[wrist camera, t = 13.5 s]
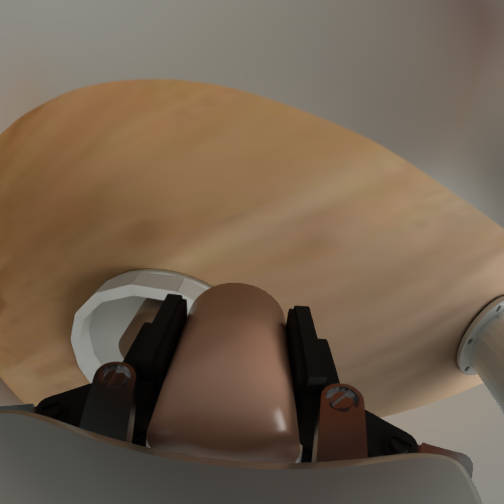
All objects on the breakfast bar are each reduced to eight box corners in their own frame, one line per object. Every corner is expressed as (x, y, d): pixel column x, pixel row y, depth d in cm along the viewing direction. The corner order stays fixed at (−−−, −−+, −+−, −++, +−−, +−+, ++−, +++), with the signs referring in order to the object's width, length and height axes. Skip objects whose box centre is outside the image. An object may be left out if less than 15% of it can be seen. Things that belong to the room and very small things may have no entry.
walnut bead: (182, 297, 26) (164, 338, 20) (182, 332, 27) (167, 375, 22) (141, 290, 26) (115, 328, 20) (143, 326, 27) (122, 365, 21)
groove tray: (276, 283, 26) (278, 304, 23) (249, 419, 33) (248, 440, 30) (74, 255, 26) (55, 270, 22) (103, 391, 33) (94, 409, 30)
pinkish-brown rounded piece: (292, 287, 11) (316, 415, 6) (278, 364, 13) (285, 483, 7) (187, 278, 11) (133, 397, 5) (189, 356, 13) (158, 470, 7)
